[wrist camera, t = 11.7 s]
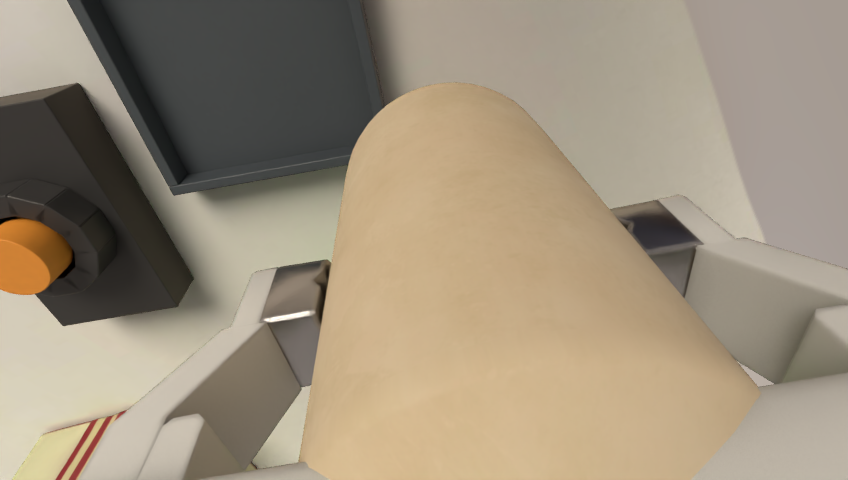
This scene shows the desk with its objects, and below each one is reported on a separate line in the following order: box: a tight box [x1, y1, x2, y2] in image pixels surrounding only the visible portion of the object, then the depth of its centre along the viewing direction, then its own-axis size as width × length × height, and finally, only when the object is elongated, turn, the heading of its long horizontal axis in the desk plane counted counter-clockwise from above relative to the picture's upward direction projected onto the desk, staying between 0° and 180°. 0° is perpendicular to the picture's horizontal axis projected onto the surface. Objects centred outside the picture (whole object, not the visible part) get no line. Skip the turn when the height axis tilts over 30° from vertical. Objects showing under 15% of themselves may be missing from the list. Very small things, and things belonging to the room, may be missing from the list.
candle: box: [298, 82, 761, 480], centre depth 8 cm, size 6×6×10 cm
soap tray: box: [67, 0, 385, 195], centre depth 23 cm, size 13×13×2 cm
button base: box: [0, 83, 193, 326], centre depth 26 cm, size 14×8×5 cm, turn 9°
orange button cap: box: [0, 218, 73, 295], centre depth 23 cm, size 4×4×2 cm
